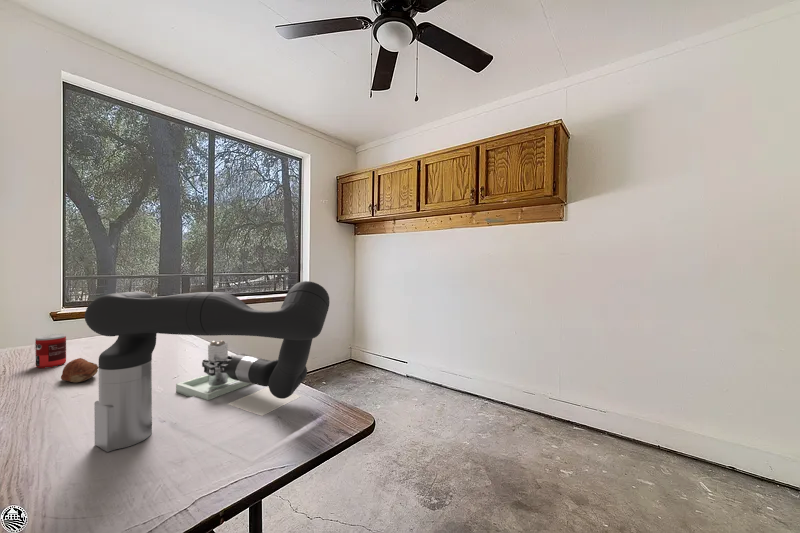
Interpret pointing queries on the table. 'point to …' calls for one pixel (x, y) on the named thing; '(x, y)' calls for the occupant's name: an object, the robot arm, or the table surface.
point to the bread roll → (79, 370)
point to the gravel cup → (216, 353)
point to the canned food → (50, 350)
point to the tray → (206, 387)
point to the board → (262, 402)
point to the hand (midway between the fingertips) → (213, 360)
